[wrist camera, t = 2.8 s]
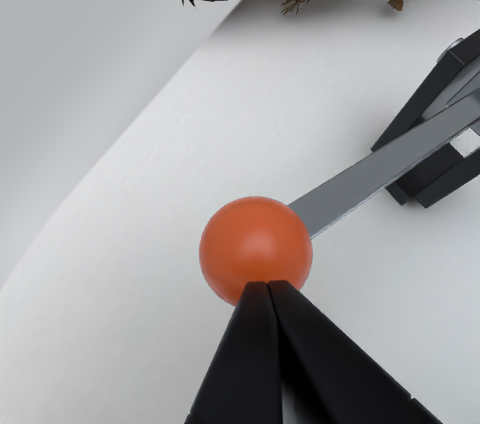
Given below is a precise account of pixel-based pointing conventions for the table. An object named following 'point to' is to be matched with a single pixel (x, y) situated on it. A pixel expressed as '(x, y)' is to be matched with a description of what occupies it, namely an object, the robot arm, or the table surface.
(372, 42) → the table surface
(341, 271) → the table surface
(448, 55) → the switch bracket
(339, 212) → the switch
